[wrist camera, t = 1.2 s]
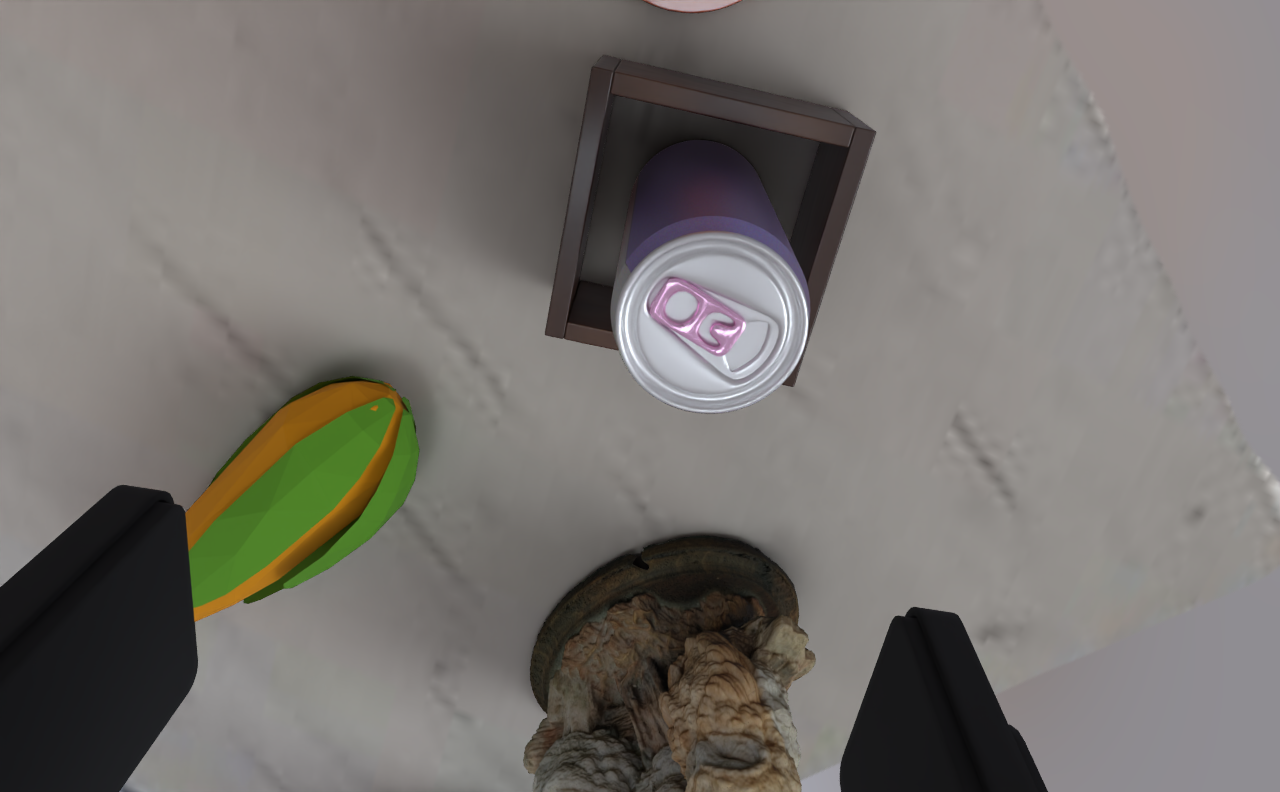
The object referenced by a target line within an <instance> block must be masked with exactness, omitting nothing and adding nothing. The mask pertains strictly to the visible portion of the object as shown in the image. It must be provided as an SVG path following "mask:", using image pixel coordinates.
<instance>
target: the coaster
mask: <svg viewBox="0 0 1280 792" xmlns="http://www.w3.org/2000/svg"><path fill="white" fill-rule="evenodd" d="M643 1H645V2H647V3H649V4H651V5H653V6H656V7H659V8H662V9H665V10H669V11H675V12H681V13H702V12H710V11H715V10H719V9H722V8H726V7H729V6H731V5H733V4H736V3H738V2H740V1H742V0H643Z"/></svg>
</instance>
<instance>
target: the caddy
mask: <svg viewBox="0 0 1280 792" xmlns="http://www.w3.org/2000/svg"><path fill="white" fill-rule="evenodd" d="M615 95H617V96H622V97H626V98H630V99H635V100H639V101H644V102H648V103H652V104H657V105H661V106H665V107H670V108H674V109H679V110H683V111H687V112H692V113H696V114H701V115H705V116H709V117H714V118H718V119H722V120H727V121H731V122H736V123H740V124H744V125H749V126H753V127H758V128H762V129H766V130H771V131H775V132H779V133H784V134H788V135H793V136H797V137H801V138H806V139H810V140H815V141H819V142H820V144H819V148H818V151H817V154H816V158H815V161H814V165H813V168H812V171H811V175H810V178H809V181H808V185H807V188H806V191H805V195H804V198H803V202H802V205H801V208H800V212H799V215H798V218H797V222H796V225H795V228H794V232H793V235H792V238H791V242H790V245H791V248H792V250H793V252H794V254H795V256H796V258H797V261H798V263H799V265H800V267H801V269H802V271H803V274H804V276H805V279H806V282H807V286H808V290H809V296H810V319H809V328H808V336H807V340H806V344H805V347H804V350H803V353H802V355H801V358H800V360H799V362H798V364H797V365H796V367H795V368H794V370H793V371H792V373H791V374H790V376H789V377H788V378H787V379H786V380H785V381H784V382H783V383H782V384H781V385H786V386H791V387H794V385H795V382H796V379H797V376H798V372H799V369H800V366H801V363H802V360H803V357H804V354H805V351H806V348H807V345H808V342H809V339H810V335H811V332H812V329H813V326H814V323H815V320H816V317H817V314H818V311H819V308H820V305H821V301H822V298H823V295H824V292H825V289H826V286H827V283H828V280H829V277H830V274H831V271H832V268H833V264H834V261H835V258H836V255H837V252H838V249H839V246H840V243H841V240H842V237H843V234H844V230H845V227H846V224H847V221H848V218H849V215H850V212H851V209H852V206H853V203H854V200H855V197H856V193H857V190H858V187H859V184H860V181H861V178H862V175H863V172H864V169H865V166H866V163H867V160H868V156H869V153H870V150H871V147H872V144H873V141H874V138H875V135H876V131H875V130H873V129H872V128H870V127H869V126H868V125H866V124H865V123H863V122H862V121H861V120H859V119H858V118H856V117H855V116H854V115H852V114H851V113H850V112H848V111H845V110H841V109H837V108H830V107H828V106H824V105H819V104H815V103H811V102H806V101H802V100H798V99H793V98H789V97H785V96H780V95H776V94H772V93H767V92H763V91H759V90H754V89H750V88H746V87H741V86H737V85H733V84H728V83H724V82H720V81H715V80H711V79H707V78H702V77H698V76H694V75H689V74H685V73H681V72H676V71H672V70H668V69H663V68H659V67H655V66H650V65H646V64H642V63H637V62H633V61H629V60H624V59H622V60H621V59H620V58H616V57H611V56H607V55H603V56H602V57H601V58H600V59H599V60H598V61H597V62H596V63H595V65H594V66H593V67H592V70H591V75H590V81H589V87H588V92H587V98H586V104H585V109H584V115H583V121H582V126H581V132H580V138H579V143H578V149H577V155H576V160H575V166H574V172H573V177H572V183H571V189H570V194H569V200H568V206H567V211H566V217H565V223H564V228H563V234H562V239H561V245H560V251H559V256H558V262H557V268H556V273H555V279H554V285H553V290H552V296H551V302H550V307H549V313H548V319H547V324H546V330H545V335H547V336H551V337H556V338H561V339H563V338H564V339H566V340H571V341H576V342H580V343H585V344H590V345H595V346H600V347H604V348H609V349H614V350H619V349H618V346H617V344H616V341H615V338H614V335H613V330H612V325H611V299H612V293H613V288H614V287H609V286H604V285H600V284H595V283H590V282H586V281H579V280H580V274H581V269H582V264H583V259H584V253H585V248H586V243H587V238H588V232H589V227H590V222H591V217H592V211H593V206H594V201H595V196H596V190H597V185H598V180H599V175H600V169H601V164H602V159H603V153H604V148H605V143H606V138H607V132H608V127H609V122H610V117H611V111H612V106H613V101H614V96H615Z"/></svg>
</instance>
